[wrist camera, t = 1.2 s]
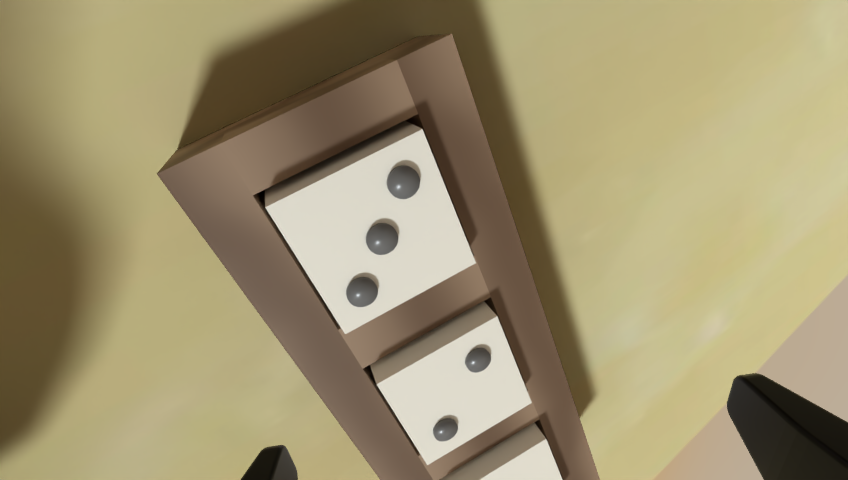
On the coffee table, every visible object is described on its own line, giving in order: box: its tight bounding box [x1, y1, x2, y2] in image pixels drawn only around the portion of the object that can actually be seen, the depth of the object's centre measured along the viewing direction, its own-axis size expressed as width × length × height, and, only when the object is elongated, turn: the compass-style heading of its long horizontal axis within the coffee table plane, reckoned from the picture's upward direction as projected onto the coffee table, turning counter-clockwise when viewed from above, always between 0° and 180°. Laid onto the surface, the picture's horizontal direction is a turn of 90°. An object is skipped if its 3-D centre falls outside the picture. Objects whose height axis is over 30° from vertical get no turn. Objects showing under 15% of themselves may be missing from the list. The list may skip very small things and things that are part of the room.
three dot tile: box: [265, 121, 476, 334], centre depth 18 cm, size 6×6×3 cm
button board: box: [157, 34, 600, 480], centre depth 24 cm, size 11×29×4 cm, turn 23°
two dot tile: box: [370, 301, 532, 465], centre depth 22 cm, size 6×6×3 cm
